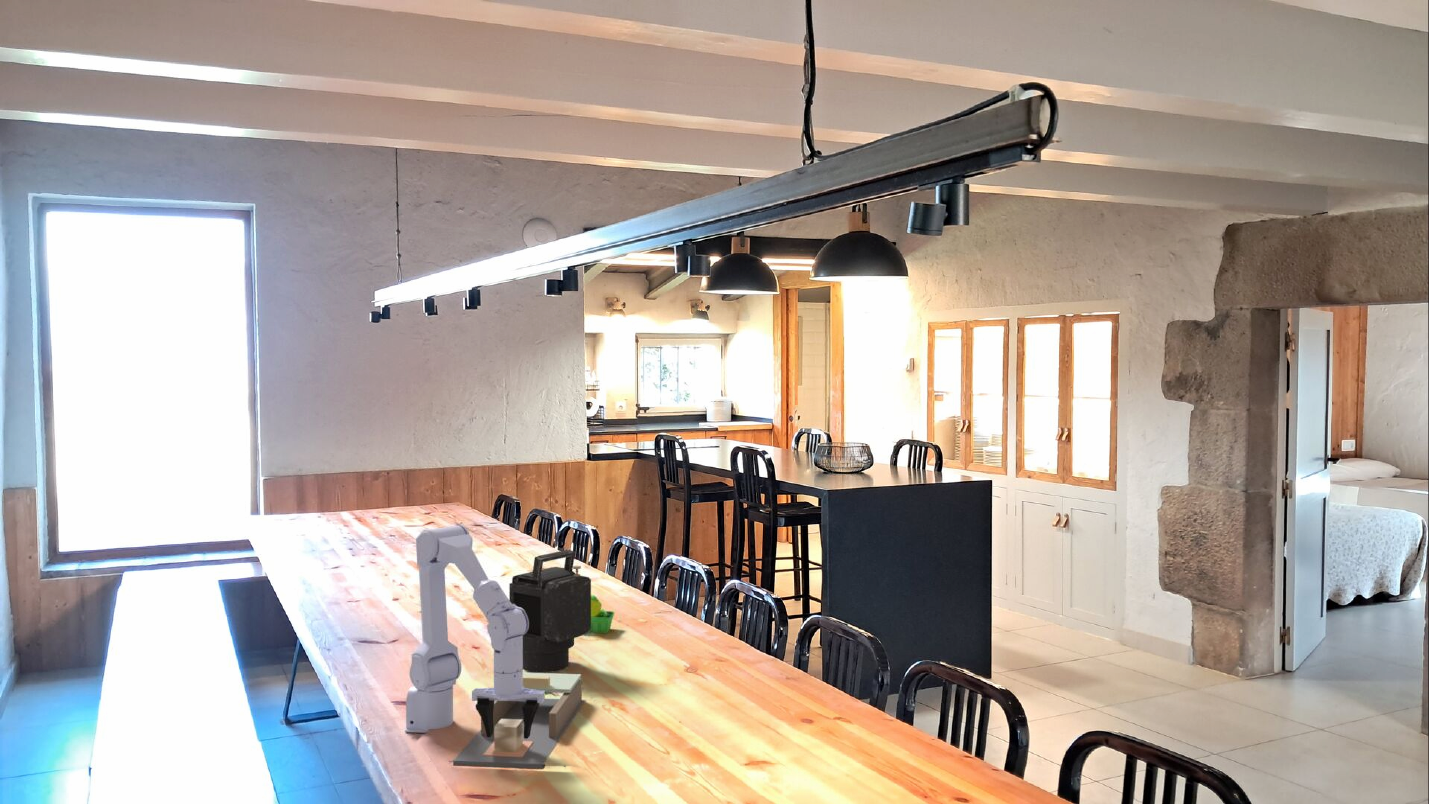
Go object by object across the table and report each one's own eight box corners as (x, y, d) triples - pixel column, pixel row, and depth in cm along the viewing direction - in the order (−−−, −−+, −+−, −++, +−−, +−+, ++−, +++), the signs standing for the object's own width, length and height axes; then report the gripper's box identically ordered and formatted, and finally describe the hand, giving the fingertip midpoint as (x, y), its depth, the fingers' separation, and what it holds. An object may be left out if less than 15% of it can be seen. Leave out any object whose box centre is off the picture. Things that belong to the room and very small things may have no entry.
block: (494, 751, 202) (494, 726, 202) (501, 742, 207) (501, 718, 207) (516, 752, 202) (516, 727, 202) (522, 743, 206) (522, 719, 206)
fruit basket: (615, 627, 303) (615, 590, 302) (609, 635, 294) (609, 597, 294) (577, 626, 304) (577, 589, 303) (570, 634, 295) (570, 596, 295)
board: (453, 765, 198) (453, 734, 198) (510, 701, 236) (509, 675, 236) (543, 769, 196) (543, 738, 196) (585, 704, 234) (585, 678, 234)
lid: (498, 690, 224) (498, 678, 224) (513, 675, 235) (513, 663, 235) (569, 693, 222) (569, 680, 222) (580, 677, 233) (580, 665, 233)
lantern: (545, 654, 275) (544, 544, 274) (594, 665, 264) (594, 551, 263) (503, 667, 262) (503, 552, 261) (553, 680, 252) (553, 560, 251)
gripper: (466, 674, 200) (466, 742, 201) (538, 676, 199) (538, 744, 199) (478, 663, 207) (478, 729, 208) (547, 666, 206) (547, 732, 206)
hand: (508, 736), depth 204 cm, fingers open, 7 cm apart
